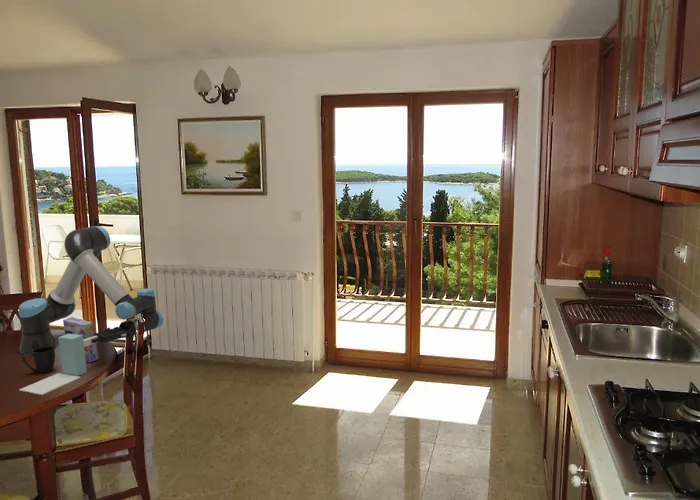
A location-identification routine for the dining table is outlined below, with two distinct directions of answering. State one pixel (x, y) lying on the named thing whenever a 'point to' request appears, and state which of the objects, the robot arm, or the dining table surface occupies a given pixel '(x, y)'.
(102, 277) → the robot arm
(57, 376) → the white mat
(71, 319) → the cake pan box
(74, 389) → the dining table surface
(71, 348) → the teal block
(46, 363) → the mug
